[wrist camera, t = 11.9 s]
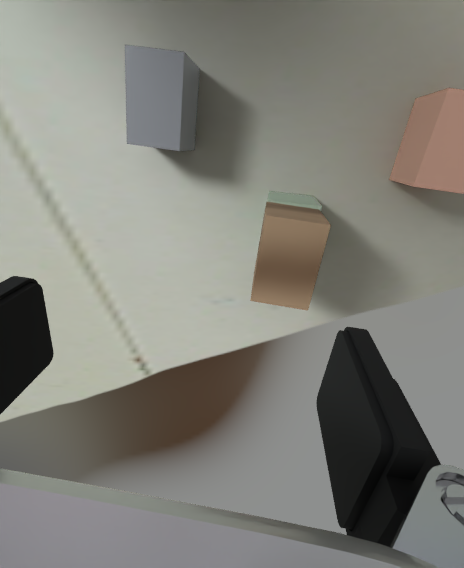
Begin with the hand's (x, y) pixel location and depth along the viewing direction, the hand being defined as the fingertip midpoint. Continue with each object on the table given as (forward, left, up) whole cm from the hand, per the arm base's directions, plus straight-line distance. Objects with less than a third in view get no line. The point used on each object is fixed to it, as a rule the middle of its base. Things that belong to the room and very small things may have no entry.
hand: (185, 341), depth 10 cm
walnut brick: (+1, +4, -16) cm, 17 cm away
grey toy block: (-8, -7, -21) cm, 24 cm away
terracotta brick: (-8, +14, -21) cm, 27 cm away
